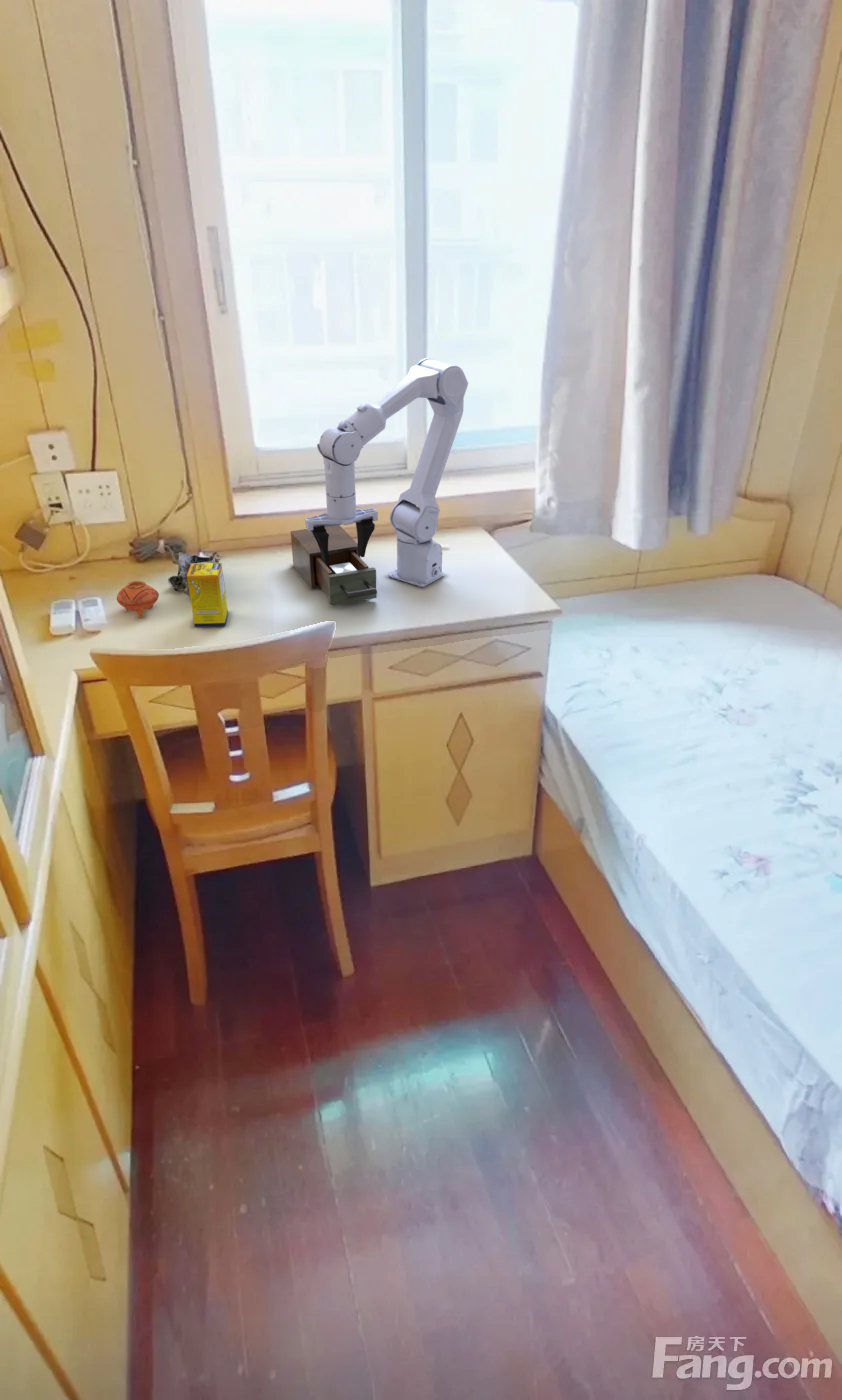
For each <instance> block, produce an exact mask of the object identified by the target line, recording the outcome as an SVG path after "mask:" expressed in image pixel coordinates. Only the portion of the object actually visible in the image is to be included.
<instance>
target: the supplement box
mask: <svg viewBox="0 0 842 1400" xmlns="http://www.w3.org/2000/svg"><path fill="white" fill-rule="evenodd" d="M187 581H188V587H189V594H190V596H189V600H190V607H191V613H192V619H193V624H194V628H215V627H226V625H227V619H228V616H229V609H228V602H227V594H226V587H225V579H224V572H223V564H222V563H221V562H219V563H192V564H191V565H190V568H189V571H188V573H187Z"/></svg>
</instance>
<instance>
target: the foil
mask: <svg viewBox="0 0 842 1400" xmlns="http://www.w3.org/2000/svg"><path fill="white" fill-rule="evenodd" d="M216 557H217V558H216ZM220 561H221V558H220V555H219V552H217V551H215V552H213V553H212V554H211V555H210V556H207V557H206V556H198V555H196V554H194V555H191V554H189V553H186V552H182V551H179V552H178V560H177V562H178V568H177V569H178V570H177V575H172V576H170V577H168V580H167V582H169V584H170V586H171V588H172V589H173V590H174V591H175V592H177V591H181V594H184V595H185V596H188V597H190V594H189V587H188V581H187V573H188V571H189V568H190V565H191V564H192V563H220Z"/></svg>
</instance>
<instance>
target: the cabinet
mask: <svg viewBox="0 0 842 1400" xmlns="http://www.w3.org/2000/svg"><path fill="white" fill-rule="evenodd" d="M325 529H326V532H327V533H328V534H329V538H328V553H329V554H333V553H340V552H346V551H352V550H353V551H354V552H355V553H356V554H357V555H358V556H359V557H360V558H361V556H360V555H359V554H358V541H356V540H355V539H354V538H353V537H352V536H351V535H350V534H349V533H348V532H347V531H346V530H345V529H344V528H343V527H342V526H341V525H335V526H329V527H325ZM290 542H291V555H292V565H293V567H294V568H295V569H296V571H297V572H298V574H299V575H300V576H301V577H302V579H303V580H304V582H305V583H306V584H307V585H308V587H309V588H310V590H317V589H322V588H321V587H320V586H319V585H318V583H317V582H316V581H315V574H314V558H313V557H314V556H321V551H320V548H319V546H318V543H317V541H316V539H315V537H314V535H313V533H312V531H308V530H307V528H304V529H297V530H291V531H290Z"/></svg>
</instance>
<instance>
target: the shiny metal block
mask: <svg viewBox="0 0 842 1400" xmlns="http://www.w3.org/2000/svg"><path fill="white" fill-rule="evenodd" d="M329 569H330V570H331V572H332V574H338V573H344V572H350V571H356V569H355V568H354V566H353V565H352V564H351V563H350V562H349V563H343V564H336V565H330V566H329Z"/></svg>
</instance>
